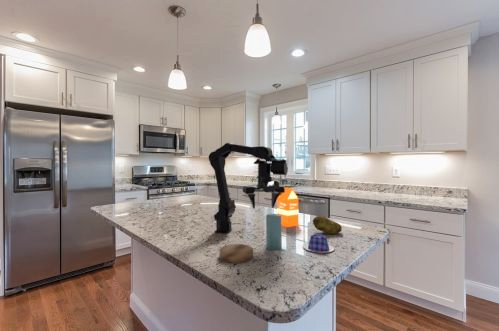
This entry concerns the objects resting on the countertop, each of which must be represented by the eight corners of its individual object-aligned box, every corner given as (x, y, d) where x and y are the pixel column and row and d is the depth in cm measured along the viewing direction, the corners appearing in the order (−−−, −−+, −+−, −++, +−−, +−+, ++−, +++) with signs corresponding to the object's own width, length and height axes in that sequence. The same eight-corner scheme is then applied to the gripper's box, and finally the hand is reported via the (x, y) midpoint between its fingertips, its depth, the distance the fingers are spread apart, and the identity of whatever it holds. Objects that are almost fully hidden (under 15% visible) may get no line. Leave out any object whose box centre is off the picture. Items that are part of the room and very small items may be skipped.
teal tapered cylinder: (264, 249, 98) (264, 216, 97) (268, 244, 103) (268, 213, 103) (279, 251, 96) (279, 217, 95) (283, 246, 101) (283, 214, 101)
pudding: (335, 246, 102) (335, 233, 102) (332, 256, 91) (332, 242, 91) (306, 242, 107) (306, 230, 107) (299, 251, 96) (299, 238, 96)
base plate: (213, 260, 87) (213, 253, 87) (228, 248, 99) (228, 242, 98) (246, 265, 83) (246, 257, 83) (257, 252, 94) (257, 246, 94)
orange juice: (287, 221, 143) (287, 186, 142) (298, 225, 135) (298, 188, 135) (277, 223, 139) (276, 187, 138) (287, 227, 131) (287, 189, 131)
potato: (340, 237, 114) (340, 219, 113) (311, 233, 119) (311, 216, 119) (342, 232, 121) (342, 215, 121) (315, 229, 127) (315, 213, 127)
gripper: (250, 175, 104) (249, 212, 104) (290, 175, 110) (289, 210, 110) (242, 173, 115) (241, 207, 115) (280, 173, 120) (279, 206, 121)
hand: (263, 208), depth 115 cm, fingers open, 9 cm apart
